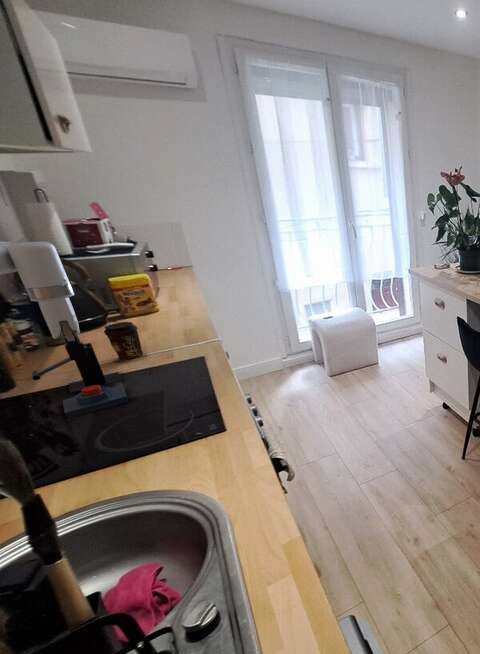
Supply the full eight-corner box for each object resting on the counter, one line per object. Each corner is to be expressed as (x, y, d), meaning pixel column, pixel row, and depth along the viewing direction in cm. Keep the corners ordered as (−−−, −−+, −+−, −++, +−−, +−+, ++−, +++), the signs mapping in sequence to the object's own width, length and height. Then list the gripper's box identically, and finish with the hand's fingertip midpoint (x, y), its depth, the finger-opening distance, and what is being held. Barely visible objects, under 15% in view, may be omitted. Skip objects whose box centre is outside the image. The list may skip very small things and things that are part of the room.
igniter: (67, 420, 107) (61, 406, 106) (65, 407, 113) (59, 394, 112) (129, 402, 116) (124, 390, 114) (124, 391, 122) (119, 379, 121)
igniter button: (84, 398, 111) (81, 392, 110) (83, 393, 113) (80, 388, 113) (102, 393, 114) (100, 387, 113) (101, 389, 116) (99, 383, 115)
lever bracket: (71, 396, 119) (54, 356, 115) (69, 386, 125) (52, 348, 120) (123, 383, 127) (108, 345, 122) (119, 375, 132) (105, 338, 128)
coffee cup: (109, 362, 142) (95, 326, 137) (138, 353, 149) (126, 319, 144) (124, 366, 139) (110, 330, 134) (153, 357, 146) (141, 322, 141)
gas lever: (37, 382, 115) (29, 376, 113) (36, 377, 118) (29, 371, 116) (93, 354, 122) (86, 348, 120) (91, 350, 125) (84, 344, 123)
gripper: (28, 290, 105) (57, 355, 112) (28, 300, 96) (60, 370, 102) (70, 284, 110) (96, 347, 117) (74, 294, 101) (102, 361, 108)
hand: (79, 358), depth 110 cm, fingers closed
